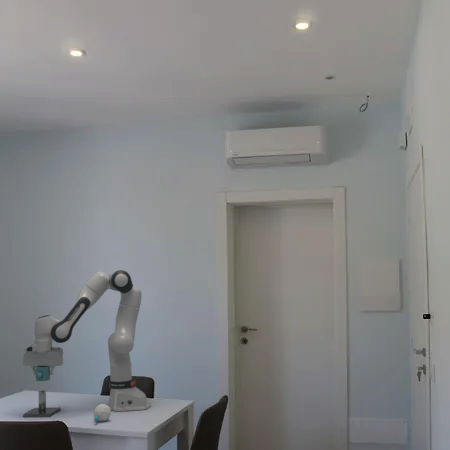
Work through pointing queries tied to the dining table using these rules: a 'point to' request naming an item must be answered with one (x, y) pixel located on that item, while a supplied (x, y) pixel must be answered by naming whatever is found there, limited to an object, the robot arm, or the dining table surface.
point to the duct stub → (42, 408)
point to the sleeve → (42, 373)
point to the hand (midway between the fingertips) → (43, 374)
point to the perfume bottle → (102, 412)
